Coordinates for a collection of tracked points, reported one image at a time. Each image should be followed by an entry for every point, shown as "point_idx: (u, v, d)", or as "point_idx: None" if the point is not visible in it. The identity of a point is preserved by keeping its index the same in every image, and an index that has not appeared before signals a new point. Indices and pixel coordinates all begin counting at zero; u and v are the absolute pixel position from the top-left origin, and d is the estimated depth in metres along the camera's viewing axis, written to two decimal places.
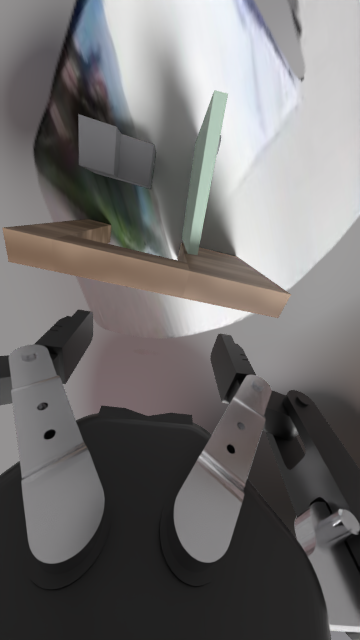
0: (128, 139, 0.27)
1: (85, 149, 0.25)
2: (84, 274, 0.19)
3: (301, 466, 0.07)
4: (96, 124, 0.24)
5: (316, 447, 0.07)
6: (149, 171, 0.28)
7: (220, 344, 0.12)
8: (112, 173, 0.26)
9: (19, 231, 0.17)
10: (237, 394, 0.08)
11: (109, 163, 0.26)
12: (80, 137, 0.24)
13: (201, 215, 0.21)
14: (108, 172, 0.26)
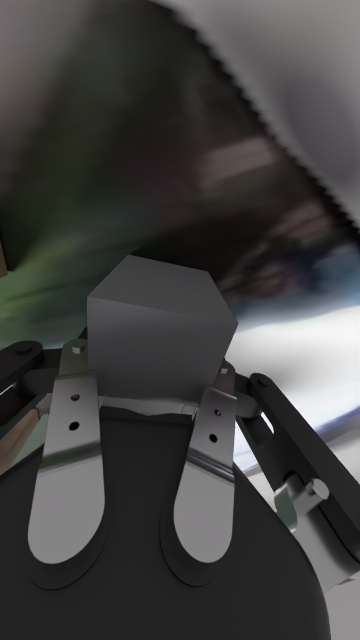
0: None
1: (143, 329, 0.07)
2: None
3: (271, 444, 0.08)
4: (210, 366, 0.08)
5: (282, 425, 0.07)
6: (133, 410, 0.13)
7: None
8: None
9: None
10: None
11: (116, 388, 0.08)
12: (177, 318, 0.06)
13: None
14: None
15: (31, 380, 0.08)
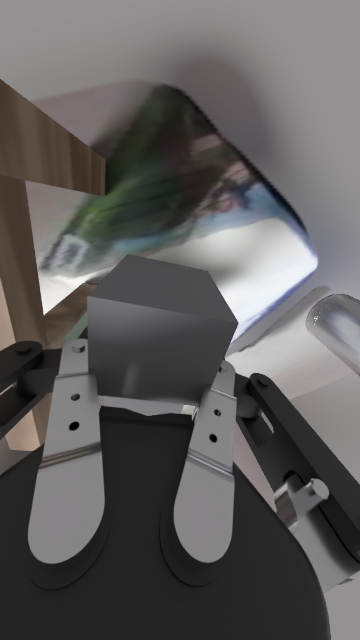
0: None
1: (143, 328, 0.07)
2: None
3: (271, 444, 0.08)
4: (210, 366, 0.08)
5: (282, 425, 0.07)
6: (133, 410, 0.13)
7: None
8: None
9: None
10: None
11: (116, 387, 0.08)
12: (177, 318, 0.06)
13: None
14: None
15: (31, 380, 0.08)
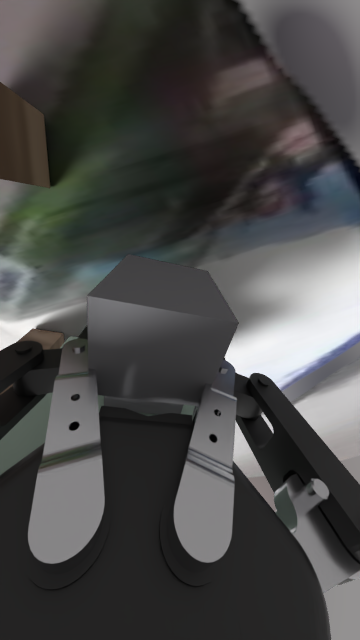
0: None
1: (143, 328, 0.07)
2: None
3: (271, 444, 0.08)
4: (211, 366, 0.08)
5: (282, 425, 0.07)
6: (133, 410, 0.13)
7: None
8: None
9: None
10: None
11: (116, 387, 0.08)
12: (177, 318, 0.06)
13: None
14: None
15: (31, 380, 0.08)
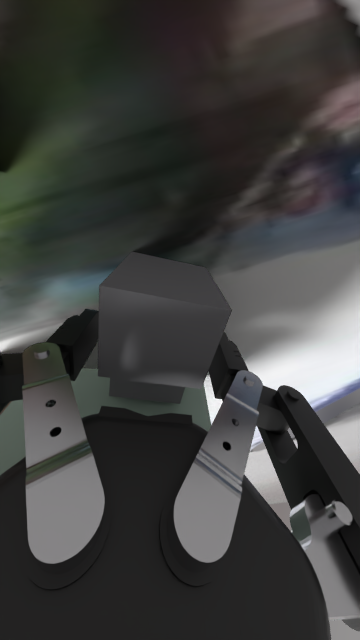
0: None
1: (147, 315, 0.07)
2: None
3: (294, 460, 0.07)
4: (207, 350, 0.08)
5: (308, 441, 0.07)
6: (136, 397, 0.14)
7: None
8: (101, 374, 0.09)
9: None
10: (230, 390, 0.08)
11: (123, 370, 0.09)
12: (177, 305, 0.07)
13: None
14: (101, 365, 0.09)
15: None
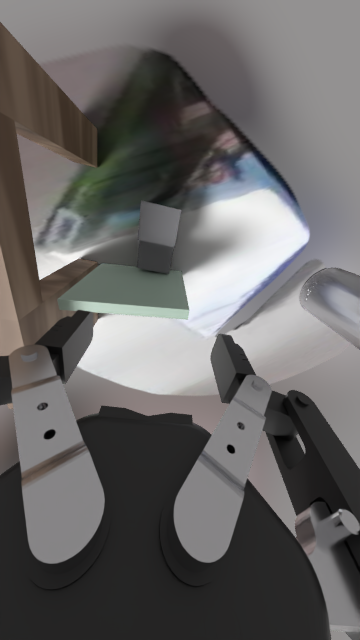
0: (170, 251, 0.29)
1: (155, 211, 0.24)
2: None
3: (301, 466, 0.07)
4: (175, 227, 0.25)
5: (316, 447, 0.07)
6: (149, 269, 0.30)
7: (220, 344, 0.12)
8: (138, 238, 0.26)
9: None
10: (237, 394, 0.08)
11: (146, 236, 0.25)
12: (164, 208, 0.24)
13: (100, 309, 0.20)
14: (139, 234, 0.25)
15: None
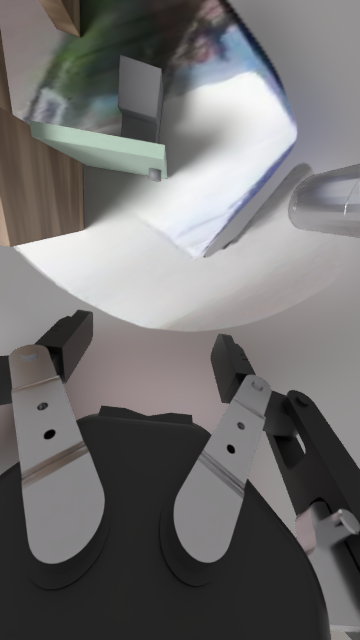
0: (153, 133, 0.29)
1: (134, 70, 0.24)
2: None
3: (301, 466, 0.07)
4: (156, 91, 0.25)
5: (316, 447, 0.07)
6: None
7: (220, 344, 0.12)
8: (119, 105, 0.25)
9: None
10: (237, 394, 0.08)
11: (127, 102, 0.25)
12: (144, 65, 0.24)
13: (73, 138, 0.20)
14: (119, 99, 0.25)
15: None
